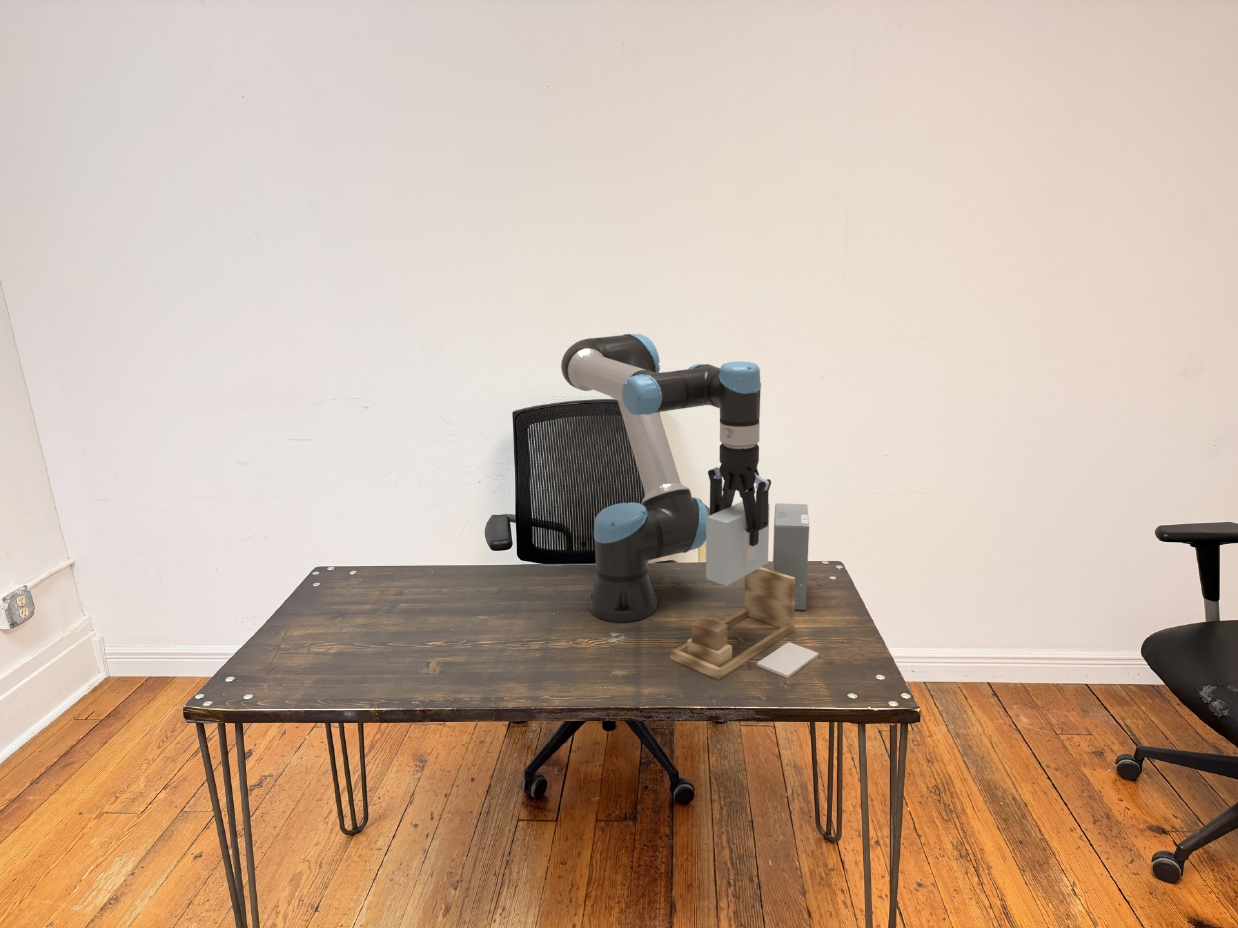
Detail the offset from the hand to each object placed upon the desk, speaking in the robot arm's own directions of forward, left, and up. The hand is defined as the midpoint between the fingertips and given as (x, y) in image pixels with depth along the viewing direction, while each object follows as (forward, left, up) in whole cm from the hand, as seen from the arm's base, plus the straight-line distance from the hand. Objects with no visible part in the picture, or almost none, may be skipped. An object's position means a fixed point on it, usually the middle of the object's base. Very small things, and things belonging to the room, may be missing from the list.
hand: (737, 555), depth 164 cm
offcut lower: (+1, -10, -19) cm, 22 cm away
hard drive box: (-4, +25, -19) cm, 32 cm away
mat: (+12, 0, -19) cm, 23 cm away
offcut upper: (+1, -10, -15) cm, 18 cm away
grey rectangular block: (0, 0, -3) cm, 3 cm away
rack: (0, -2, -19) cm, 19 cm away
